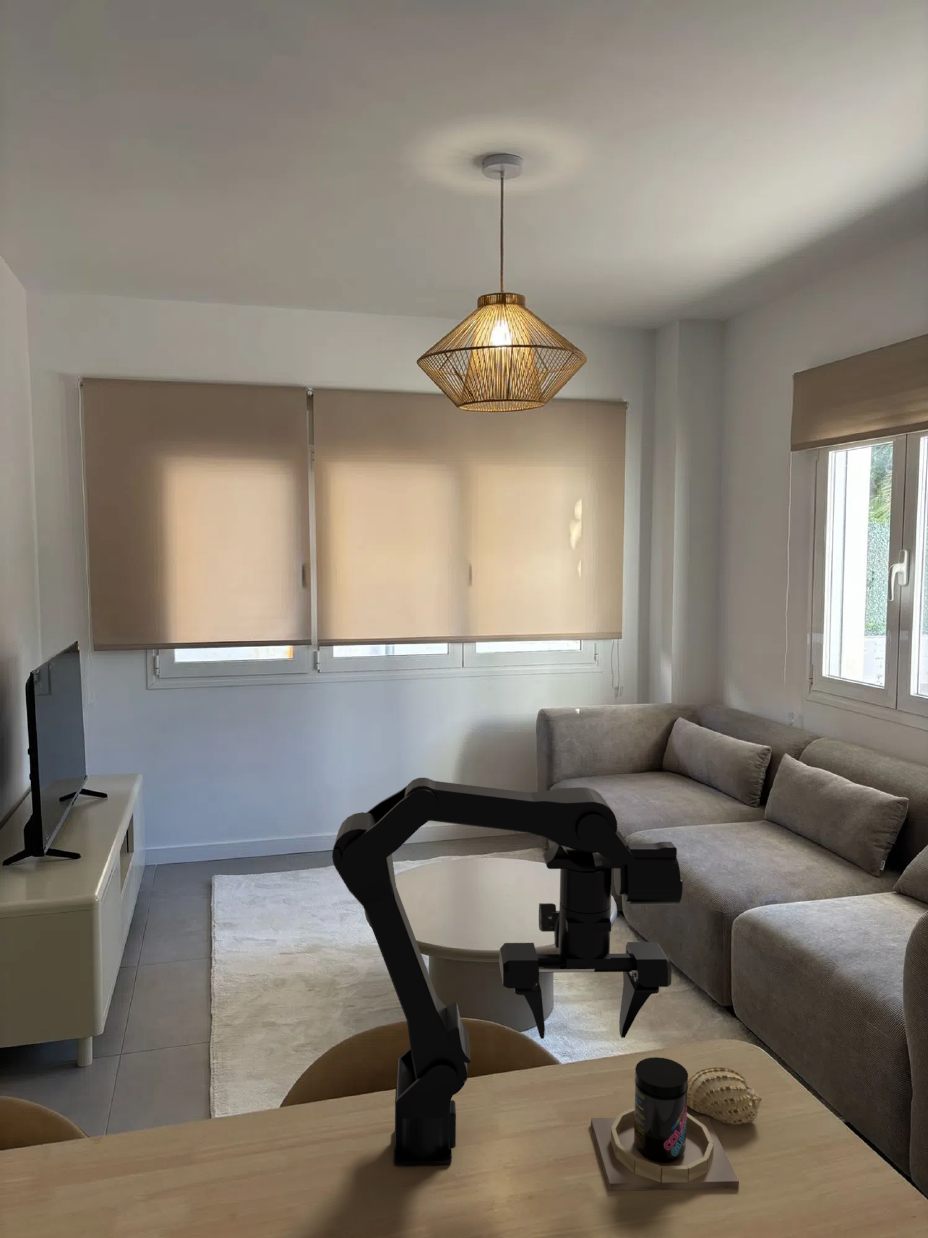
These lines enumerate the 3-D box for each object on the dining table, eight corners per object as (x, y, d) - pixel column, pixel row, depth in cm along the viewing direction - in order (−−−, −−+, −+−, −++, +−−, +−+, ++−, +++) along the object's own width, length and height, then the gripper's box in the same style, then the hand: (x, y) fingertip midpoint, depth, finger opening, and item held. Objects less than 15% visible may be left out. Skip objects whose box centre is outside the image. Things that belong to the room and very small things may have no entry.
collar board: (609, 1190, 97) (610, 1170, 97) (590, 1124, 108) (591, 1106, 108) (738, 1188, 98) (739, 1168, 97) (707, 1122, 109) (707, 1104, 108)
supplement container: (657, 1172, 99) (659, 1093, 98) (622, 1141, 104) (624, 1066, 103) (697, 1155, 102) (699, 1078, 101) (661, 1125, 107) (663, 1052, 106)
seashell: (692, 1153, 108) (772, 1125, 106) (671, 1108, 107) (751, 1079, 106) (684, 1112, 115) (758, 1086, 114) (664, 1070, 115) (739, 1043, 114)
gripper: (649, 876, 110) (646, 999, 112) (496, 877, 110) (494, 1001, 111) (674, 914, 99) (670, 1050, 101) (504, 915, 98) (502, 1052, 100)
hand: (582, 1036), depth 103 cm, fingers open, 9 cm apart
